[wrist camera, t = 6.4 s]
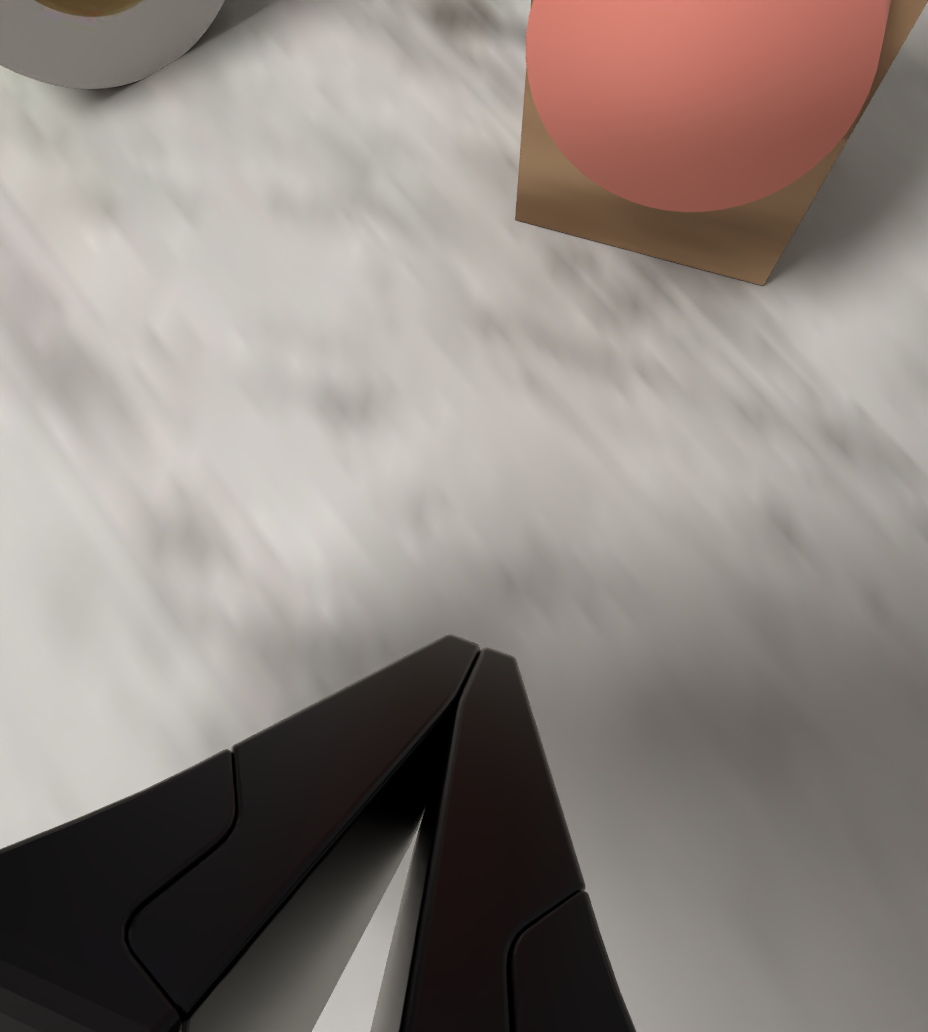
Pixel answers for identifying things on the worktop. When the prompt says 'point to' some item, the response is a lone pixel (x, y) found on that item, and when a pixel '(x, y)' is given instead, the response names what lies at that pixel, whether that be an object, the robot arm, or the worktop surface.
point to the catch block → (671, 234)
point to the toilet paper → (99, 38)
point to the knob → (700, 91)
